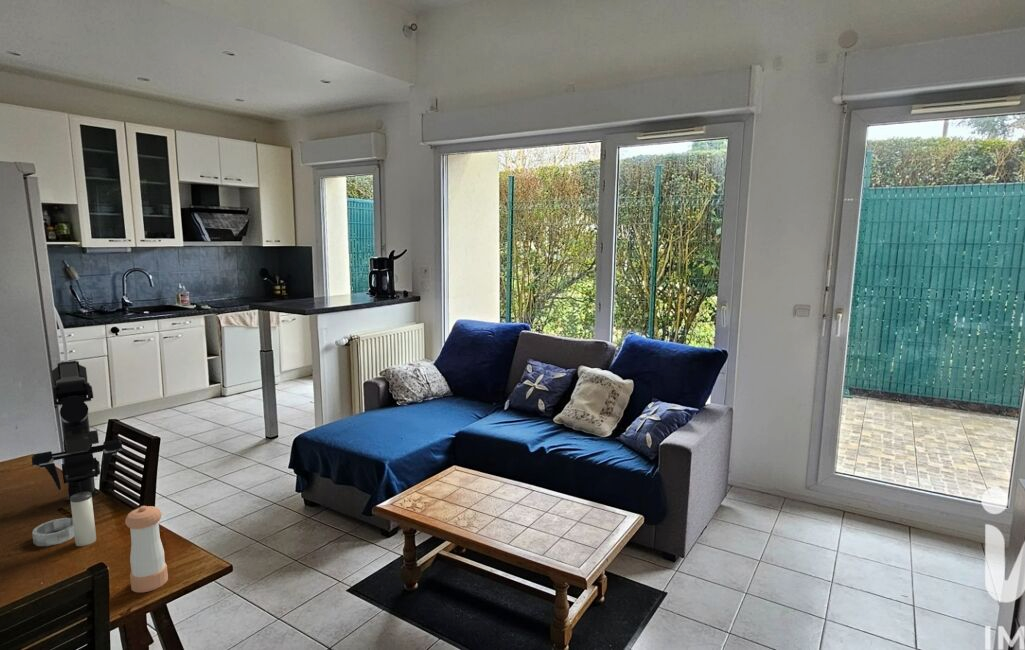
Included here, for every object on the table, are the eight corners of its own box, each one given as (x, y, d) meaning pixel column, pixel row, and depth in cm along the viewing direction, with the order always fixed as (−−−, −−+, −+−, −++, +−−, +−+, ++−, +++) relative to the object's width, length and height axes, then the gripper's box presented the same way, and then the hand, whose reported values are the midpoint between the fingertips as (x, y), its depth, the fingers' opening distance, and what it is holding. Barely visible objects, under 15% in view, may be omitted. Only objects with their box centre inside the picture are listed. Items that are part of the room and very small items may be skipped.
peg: (84, 537, 150) (78, 491, 148) (100, 537, 150) (95, 491, 148) (71, 546, 146) (65, 499, 144) (87, 546, 146) (82, 499, 144)
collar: (53, 527, 154) (52, 517, 154) (86, 528, 154) (85, 518, 154) (24, 545, 145) (23, 535, 145) (59, 546, 145) (58, 535, 145)
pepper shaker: (161, 570, 136) (154, 496, 133) (173, 581, 132) (166, 505, 129) (126, 583, 131) (118, 507, 127) (137, 596, 126) (129, 517, 123)
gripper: (27, 430, 137) (34, 494, 135) (119, 416, 149) (127, 474, 147) (30, 435, 146) (36, 495, 143) (117, 421, 157) (124, 476, 155)
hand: (82, 485), depth 147 cm, fingers open, 9 cm apart
